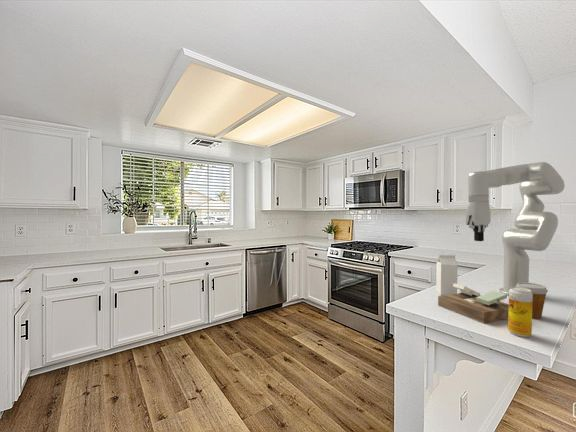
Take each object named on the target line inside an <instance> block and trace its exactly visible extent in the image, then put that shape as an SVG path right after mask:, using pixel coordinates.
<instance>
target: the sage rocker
mask: <svg viewBox="0 0 576 432" xmlns="http://www.w3.org/2000/svg"><path fill="white" fill-rule="evenodd" d="M507 298H508V295H507V294H504V293H501V292H500V291H496V290H492V291H489V292H487V293H483V294H481V296H479V297H476V301H478V302H481V303H484V304H487V305H491V304H493V303H496V304H499V303H500V302H502V301H503V300H505V299H507Z"/></svg>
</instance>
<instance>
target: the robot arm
mask: <svg viewBox="0 0 576 432" xmlns="http://www.w3.org/2000/svg"><path fill="white" fill-rule="evenodd" d="M467 175H468V176H467V177H468V179H467V181H468V183H467V184H468V187H467V188H468V189H467V190H468V192H467V193H468V197H467V198H468V203H467V204H466V211H465V225H467V226H468V228H469V229H471V230H472V231H473V240H474V242H475V241H476V242H483V241H484V240H485V239H484V238H485V237H484V236H485V229H486V228H488V227H489V224H491V218H492V216H491V206H490V192H489V191H490V189H495V188H500V187H503V186H509V185H510V186H511V185H515V184H519V192H520V196H521V200H522V204H521V207H520V209H519V211H518V213H517V214H516V216H515V219H514V227H515V228H510V229H507V230H505V231H504V232H503V233H502V236H501V239H502V241H501V242H502V244H503V257H504V258H503V285H502V287H500V288H499V291H498V292H500V293H504V294H507V296H509V290H510V289H511V287H516V286H517V283H520V282H526V283H530V282H529V281H530V280H529V279H530V256H529V255H528V253H527V252H526V251H535V252H543V251H546V250H547V249H548V248H549V246H550V243H551V242H552V239H553V238H554V235H555V233H556V232H557V228H558V226H559V220H558V216H557V215H556V214H555V213H554V212H551V211H544V210H545V204H544V202H543V201H542V200H541V199H540V198H539V196H542V195H544V196H547V195H559V194H561V193H562V192H563V191H564V189H565V185H566V184H565V181H564V179H563V178H562V176H561V175H560V174H559V172H558V171H557V170H556V169H555V167H554V166H552V165H551V164H550V163H548V162H547V161H539V162H531V163H522V164H517V165H511V166H506V167H505V166H504V167H499V168H495V169H489V170H484V171H483V170H482V171H481V170H480V171H473V172H470V173H469V174H467Z"/></svg>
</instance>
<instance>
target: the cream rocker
mask: <svg viewBox="0 0 576 432" xmlns="http://www.w3.org/2000/svg"><path fill="white" fill-rule="evenodd" d="M453 287H455V288H457V290H458V292H459V293H464V294H467V295H470V296H472V295H474V296H478V297H479V296H480V294H481V293H479V292H477V291H475V290H473V289H472V288H470V287H467V286H465V285H461V284H459V283H457V284H455V283H454V284H453Z"/></svg>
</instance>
